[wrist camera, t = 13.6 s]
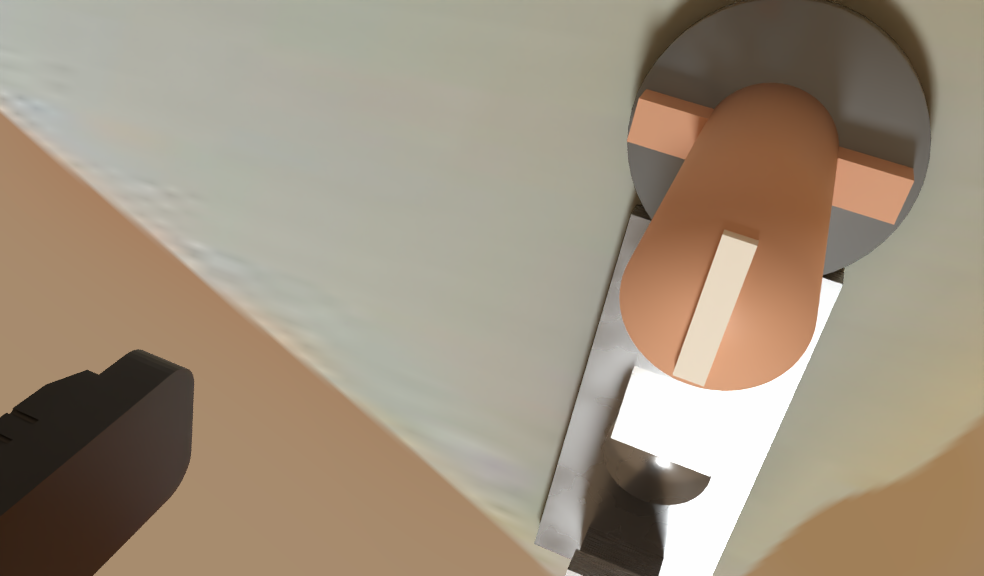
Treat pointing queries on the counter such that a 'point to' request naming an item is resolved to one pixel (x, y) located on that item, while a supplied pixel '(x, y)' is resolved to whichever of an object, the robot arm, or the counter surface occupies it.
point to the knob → (743, 232)
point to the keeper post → (658, 453)
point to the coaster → (814, 69)
